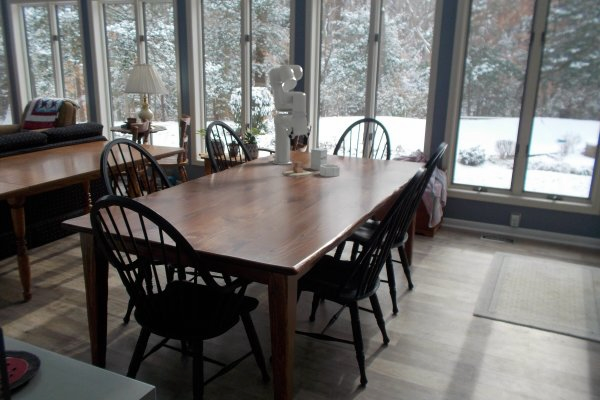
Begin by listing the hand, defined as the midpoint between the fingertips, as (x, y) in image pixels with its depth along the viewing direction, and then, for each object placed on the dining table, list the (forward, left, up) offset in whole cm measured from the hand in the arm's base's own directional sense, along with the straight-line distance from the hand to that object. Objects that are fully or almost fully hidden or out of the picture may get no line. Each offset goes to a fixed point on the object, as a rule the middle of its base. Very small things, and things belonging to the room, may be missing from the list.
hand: (298, 145), depth 284 cm
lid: (0, 0, -17) cm, 17 cm away
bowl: (+12, +14, -17) cm, 25 cm away
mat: (0, 0, -17) cm, 17 cm away
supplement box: (-4, +20, -18) cm, 27 cm away
